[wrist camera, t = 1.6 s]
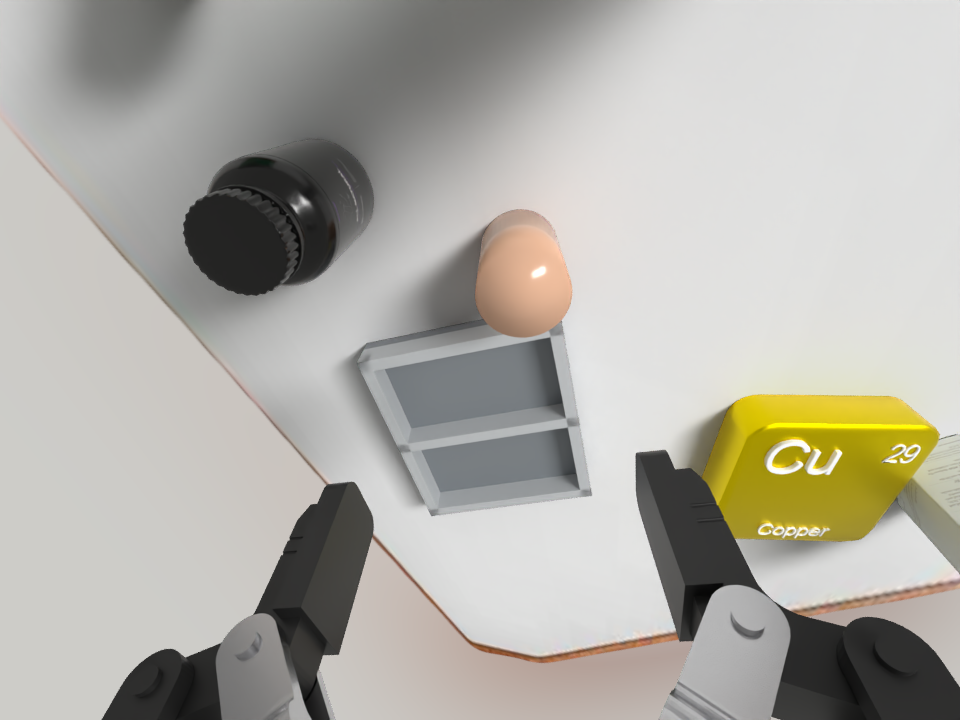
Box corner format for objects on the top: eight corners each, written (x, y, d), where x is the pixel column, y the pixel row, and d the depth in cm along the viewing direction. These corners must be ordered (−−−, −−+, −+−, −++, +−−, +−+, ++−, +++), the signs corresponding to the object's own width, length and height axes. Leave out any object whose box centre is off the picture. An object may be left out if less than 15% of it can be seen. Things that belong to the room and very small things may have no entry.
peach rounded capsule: (550, 200, 30) (564, 238, 23) (562, 275, 32) (578, 327, 26) (472, 220, 30) (463, 261, 24) (491, 290, 33) (487, 345, 27)
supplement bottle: (395, 187, 30) (340, 246, 20) (343, 259, 33) (272, 342, 23) (306, 110, 27) (191, 132, 17) (258, 195, 30) (137, 256, 20)
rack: (557, 304, 34) (561, 322, 31) (586, 471, 44) (591, 495, 41) (366, 343, 36) (356, 363, 34) (435, 492, 46) (431, 516, 44)
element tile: (689, 503, 46) (706, 544, 42) (730, 391, 38) (757, 428, 34) (835, 507, 46) (867, 548, 42) (911, 393, 37) (959, 431, 33)
